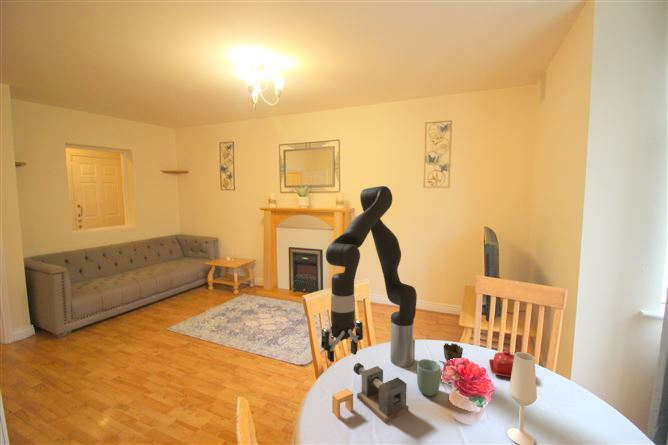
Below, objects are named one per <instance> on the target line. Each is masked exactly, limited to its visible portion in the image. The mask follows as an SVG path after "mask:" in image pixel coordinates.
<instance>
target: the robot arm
mask: <svg viewBox="0 0 668 445" xmlns="http://www.w3.org/2000/svg"><path fill="white" fill-rule="evenodd" d="M359 195H360V196H359V198H360V204H361V208H362V213H360V214H359V215H357V216H356V217H355V218H353V219H352V221H351V222H350V223H349V225H348V226H347V228H346V229H345V231H344V232H343V233H342V234H340V235H338V237H336V238H335V239H334V240H332V242H331V243H329V245H328V247H327V249H326V251H325V258H326V262H327V263H328V264H329V265H330V266H334V267H335V266H336V267H341V268H342V267H343V268H344V270H343V271H344V272H339V273H334V274H333V275H332V277H331V296H330V324H331V326H330V328H327V329H326V328H322V330H321V344H320V347H321V348H322V349H323V350H325V351H326V352H327V353H326V358H327V360H328V361H329V362H330V363H334V362H335V350H334V349H335V347H336V346H337V345H338V344H339V343H340V342H341V341H345V340H348V339H350V340H351V341H350V352H351V353H350V354H352V355H354V356H355V355H357V353H358V350H359V349H358V347H359V344H358V343H359V341H360V340H361V341H362V340H363V338H364V331H363V322H362V321H360V320H359V319H356V318H355V316H356V298H355V279H356V273H357V270H358V266H359V264H360V260H361V251H360V248H361V246H362V245H363V243H364V242H365V240H366V239H367V237H368V235H369V233H371V236H372V239H373V242H374V247H375V250H376V253H377V257H378V260H379V264H380V268H381V270H382V276H383V279H384V285H385V291H386V295H387V298H388V300H389V301H390V302H391V303H392V304H394V305H396V306H399V311H395V312H392V314H391V315H390V352H389V353H390V357H389V358H390V359H389V360H390V363H391V364H392V365H394V366H396V367H399V368H408V367H411V366H413V363H414V362H415V356H416V355H415V354H416V353H415V351H416V350H415V349H416V348H415V347H416V340H415V338H414V323H415V322H414V321H415V320H414V319H415V317H416V310H417V301H418V300H417V298H418V297H417V296H418V295H417V290H416V289H415V287H414V286H412V285H410V284H407V283H403V282H401V279H400V277H399V272H398V269H399V265H400V263H401V259H402V250H401V246H400V243H399V239H398V238H397V236H396V235H395V233H394V232H393V231H392V230H391V229H390V228H388V226H387V225H386V224H385V222H383V221H382V219H381V218H382V217H383V216H384V215H385V214H386V213H387V211H388V210H389V209H390V208H391V207H392V203H393V194H392V191H391V189H390V188H389V187H388V186H385V185H381V186H374V187H368V188H364V189H363V190H361V192H360V194H359ZM354 330H355V331H354ZM354 332H355V333H354Z"/></svg>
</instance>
